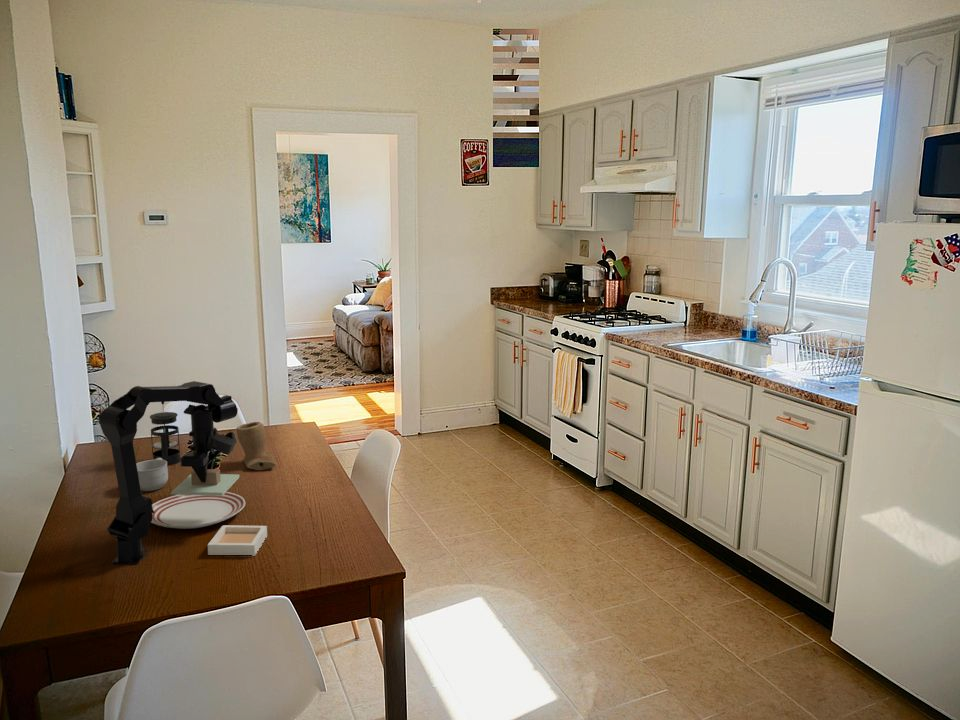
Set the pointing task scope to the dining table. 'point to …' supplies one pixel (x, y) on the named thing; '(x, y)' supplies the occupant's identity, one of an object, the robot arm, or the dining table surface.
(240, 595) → the dining table surface
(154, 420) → the french press
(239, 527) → the dish
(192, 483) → the cover
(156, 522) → the dinner plate
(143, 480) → the teacup
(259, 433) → the beige boot
